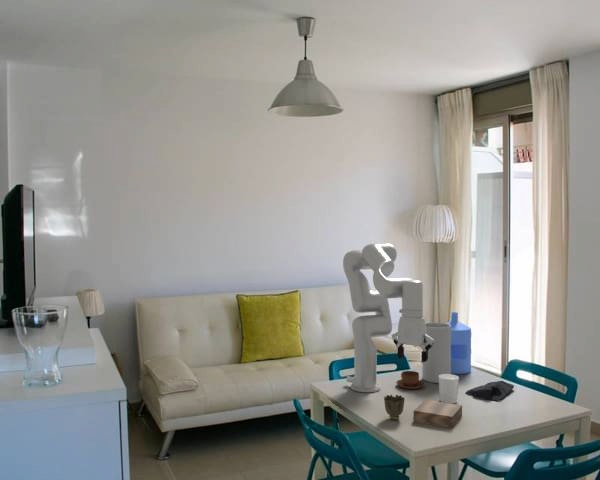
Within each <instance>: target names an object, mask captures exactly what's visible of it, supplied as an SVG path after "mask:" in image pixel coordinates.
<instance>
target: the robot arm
mask: <svg viewBox="0 0 600 480" xmlns="http://www.w3.org/2000/svg"><path fill="white" fill-rule="evenodd" d="M397 253H398V252H397V249H396V248H395V246H394V245H393V244H391V243H369V244H367V245H365V246H364V247H363V248H362V249H357V250H355V249H354V250H350V251H348V252H346V253H345V255H344V256H343V260H342V268H343V271H344V275H345V276H346V279H347V282H348V286H349V288H348V289H349V293H350V294H349V295H350V300H351V306H352V309H353V311H354V312H356V313H359V314H364V315H359V316H357V317H355V318H354V319H353V320H352V323H351V327H352V328H351V329H352V330H351V331H352V337H353V344H354V345H353V346H354V351H353V352H354V363H353V364H354V368H353V369H354V370H353V371H354V376H349V375H347V376H346V377H345V378H346V379H345V380H346V382H347V383H352V384H351V385H350V389H351V390H352V391H355V392H359V393H375V392H378V391H380V390H381V385H380V384H378V383H377V381H378V380H377V377H378V376H377V372H378V371H377V367H378V366H377V363H378V362H377V361H378V360H377V357H378V356H377V354H378V353H377V352H378V351H377V346H376V344H375V342H374V341H373V340H372V339H373V338H380V337H388V336H389V335H390V334H391V333H392V331H393V322H392V316H391V310H390V305H389V299H399V298H400V299H401V308H400V309H399V311H398V312H399V313H401V316H399V321H398V326H397V332H395V333H392V334H391V339H392V340H393V343H394V344H395V346H396V348H397V357H398V359H402V358H404V357H405V348H404V345H405V346H406V345H408V346H415V347H420V349H421V357H420V358H421V363H422V362H426V361H427V359H428V350H429V349H430V348H431V347H432V345H433V343H434V341H435V340H434V339H433V338H431V337H430V336H428V335H427V332H426V324H425V323H426V319H425V317H423V316H424V311H423V309H424V308H423V307H424V303H423V301H424V300H423V299H424V297H423V295H424V294H423V293H424V292H423V291H424V288H423V286H424V285H423V282H422V281H421V280H417V279H413V278H411V277H395V278H388V277H390V275H391V274H392V273H393V272H394V271H395V261H396V260H397V256H398V255H397ZM361 270H372V271H373V273H372V282H373V283H372V284H373V286H374V288H375V289H373V290H371V288H370V286H369V285H370V284H369V280H368V278H367V277H366V275H365V274H364V272H362V271H361ZM365 313H375V314H367V315H365ZM427 340H428V341H429V344H428V345H427V344H426V342H427ZM422 350H423V351H422Z"/></svg>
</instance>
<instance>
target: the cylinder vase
mask: <svg viewBox="0 0 600 480" xmlns="http://www.w3.org/2000/svg"><path fill="white" fill-rule="evenodd" d="M425 324H426V332H427V335H428V336H430V337H431V338H433V339H434V340H435V341H434V343H433V345H432V347H431V348H430V349H429V350H428V359H427V361H426V362H422V361H421V363H422V368H421V369H422V370H421V372H422V375H421V376H422V377H421V378H422V380H423V381H426V382H427V383H430V384H431V383H432V384H439V375H441V374H451V325H449V324H445V323H443V322H425ZM426 344H427V345H428V344H429V341H428V340H427V342H426ZM422 351H423V350H422V349H421V352H422Z"/></svg>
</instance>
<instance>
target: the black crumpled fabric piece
mask: <svg viewBox="0 0 600 480" xmlns="http://www.w3.org/2000/svg"><path fill="white" fill-rule="evenodd" d="M514 388H515V385H514V384H512V383H509V382H507V381H503V380H497V381H490V382H487V383H486V384H484V385H479V386H476V387H473V388H471V389H468V390H467V391H465V394H466V395H467V396H469V397H473V398H477V399H481V400H485V401H492V402H493V401H494V402H500V401H501V400H502V399H504V398H506V397H507V395H508V394H509V393H511V391H512V390H513V389H514Z"/></svg>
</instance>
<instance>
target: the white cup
mask: <svg viewBox="0 0 600 480" xmlns="http://www.w3.org/2000/svg"><path fill="white" fill-rule="evenodd" d="M459 381H460V377H459V376H458V375H457V374H441V375H439V383H438V392H439V402H443V403H450V404H457V403H458V395H459Z"/></svg>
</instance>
